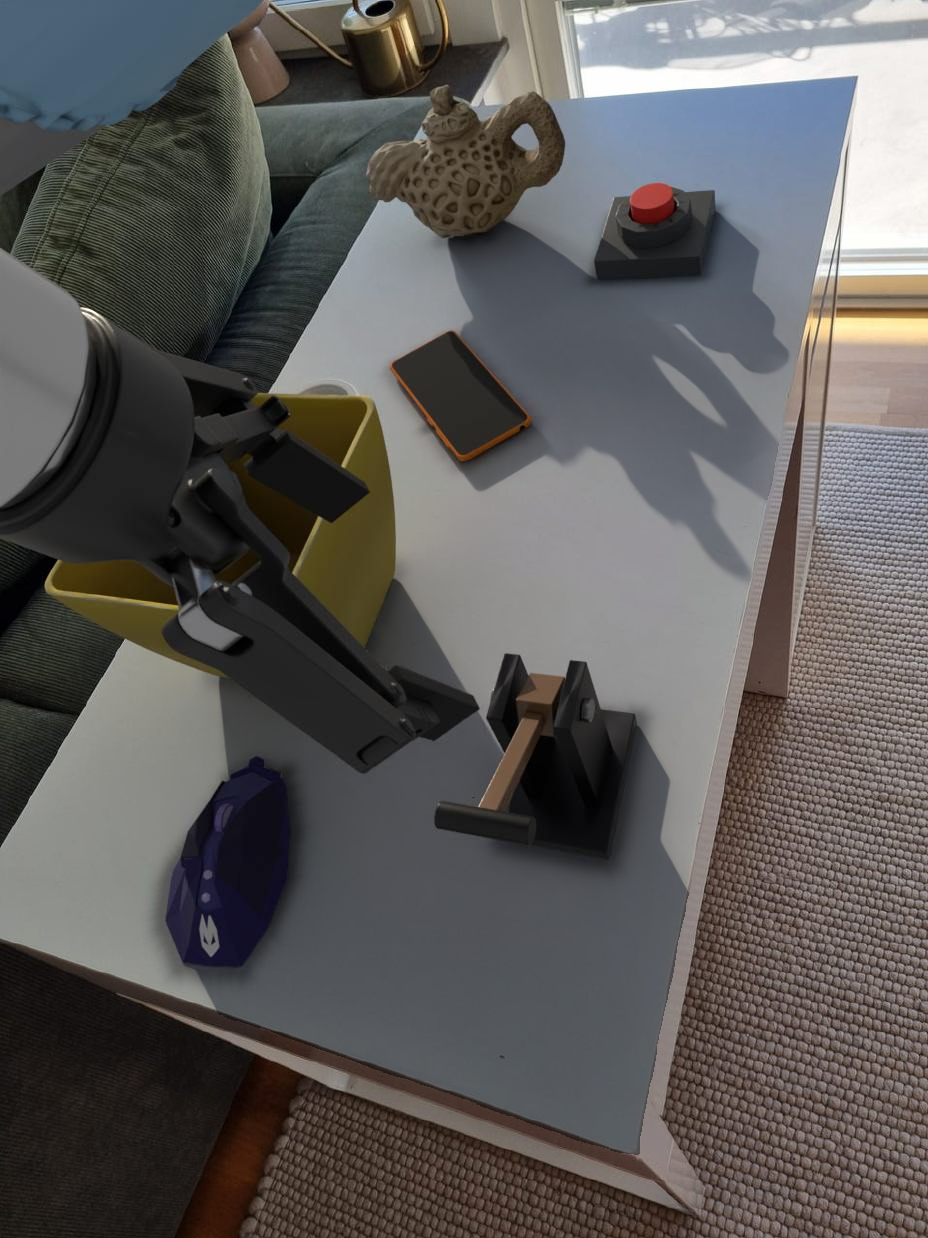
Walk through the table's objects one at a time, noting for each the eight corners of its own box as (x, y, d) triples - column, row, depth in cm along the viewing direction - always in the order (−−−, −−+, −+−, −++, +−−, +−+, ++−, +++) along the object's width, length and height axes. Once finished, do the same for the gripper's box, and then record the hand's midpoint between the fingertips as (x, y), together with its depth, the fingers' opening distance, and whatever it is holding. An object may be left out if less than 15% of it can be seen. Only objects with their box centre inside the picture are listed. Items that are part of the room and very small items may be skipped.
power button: (677, 197, 90) (676, 180, 89) (670, 223, 88) (669, 207, 87) (636, 200, 92) (634, 184, 90) (628, 226, 90) (626, 210, 88)
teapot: (379, 271, 102) (328, 140, 90) (398, 207, 108) (352, 76, 96) (573, 244, 96) (546, 99, 84) (581, 177, 102) (557, 33, 90)
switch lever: (529, 859, 47) (525, 823, 45) (437, 841, 48) (430, 807, 47) (590, 711, 56) (588, 679, 55) (511, 701, 58) (507, 669, 56)
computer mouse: (145, 961, 65) (113, 945, 62) (204, 763, 73) (178, 740, 69) (266, 970, 62) (239, 955, 59) (313, 764, 70) (292, 740, 67)
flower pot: (368, 744, 70) (272, 623, 56) (163, 706, 77) (35, 590, 63) (445, 541, 79) (379, 394, 65) (255, 524, 86) (160, 388, 72)
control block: (715, 209, 93) (713, 172, 90) (700, 275, 88) (698, 239, 85) (616, 215, 97) (611, 180, 94) (597, 280, 92) (590, 244, 89)
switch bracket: (609, 860, 60) (577, 779, 50) (506, 840, 63) (455, 760, 53) (637, 721, 65) (613, 622, 55) (540, 709, 68) (500, 611, 57)
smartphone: (454, 332, 93) (452, 326, 92) (535, 425, 83) (533, 418, 83) (388, 369, 93) (385, 363, 92) (461, 467, 83) (459, 460, 82)
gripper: (-112, 247, 35) (263, 470, 53) (10, 845, 23) (439, 872, 41) (19, 103, 33) (362, 385, 51) (225, 676, 21) (578, 782, 39)
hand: (397, 603), depth 46 cm, fingers open, 13 cm apart
